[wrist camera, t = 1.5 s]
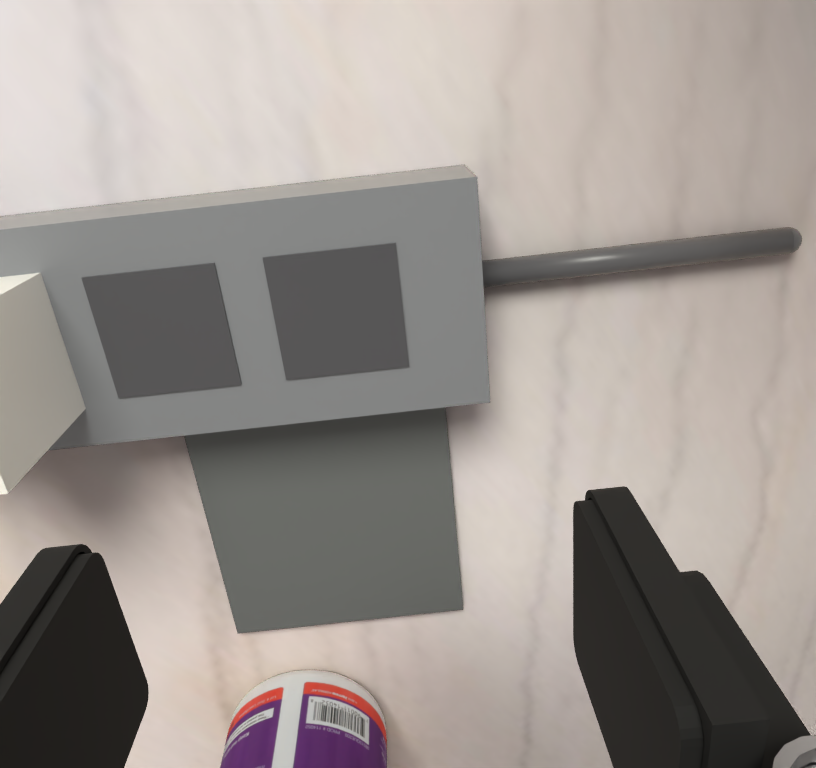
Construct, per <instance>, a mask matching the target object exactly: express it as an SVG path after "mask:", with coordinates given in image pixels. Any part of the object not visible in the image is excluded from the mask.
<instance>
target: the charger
mask: <svg viewBox="0 0 816 768" xmlns="http://www.w3.org/2000/svg"><path fill="white" fill-rule="evenodd" d="M85 409H86V408H85V405H84V402H83V399H82V396H81V393H80V390H79V387H78V384H77V381H76V378H75V375H74V372H73V369H72V366H71V363H70V360H69V357H68V354H67V351H66V348H65V345H64V342H63V339H62V336H61V333H60V330H59V327H58V324H57V321H56V318H55V315H54V312H53V309H52V306H51V303H50V300H49V297H48V294H47V291H46V288H45V285H44V282H43V279H42V276H41V273H33V274H24V275H15V276H6V277H0V495H1V494H9V492H10V491H11V490H12V489H13V488H14V487H15V486H16V485H17V484H18V483H19V481H20V480H21V479H22V478H23V477H24V476H25V475H26V474H27V473H28V472H29V470H30V469H31V468H32V467H33V466H34V465H35V464H36V463H37V462H38V461H39V459H40V458H41V457H42V456H43V455H44V454H45V453H46V452H47V451H48V450H49V448H50V447H51V446H52V445H53V444H54V443H55V442H56V441H57V440H58V439H59V437H60V436H61V435H62V434H63V433H64V432H65V431H66V430H67V429H68V428H69V426H70V425H71V424H72V423H73V422H74V421H75V420H76V419H77V418H78V417H79V415H80V414H81V413H82V412H83V411H84V410H85Z"/></svg>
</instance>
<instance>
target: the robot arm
mask: <svg viewBox="0 0 816 768" xmlns="http://www.w3.org/2000/svg"><path fill="white" fill-rule="evenodd" d="M573 636H574V647H575V653H576V657H577V661H578V664H579V667H580V670H581V673H582V676H583V679H584V682H585V685H586V688H587V691H588V694H589V697H590V700H591V703H592V706H593V708H594V711H595V714H596V717H597V720H598V723H599V726H600V729H601V732H602V735H603V738H604V741H605V744H606V747H607V749H608V752H609V755H610V758H611V761H612V764H613V767H614V768H816V735H810V733H809V732H808V730H807V729H806V727H805V726H804V724H803V723H802V721H801V720H800V718H799V717H798V715H797V714H796V712H795V711H794V709H793V708H792V706H791V704H790V703H789V701H788V700H787V698H786V697H785V695H784V694H783V692H782V691H781V689H780V688H779V686H778V685H777V683H776V682H775V680H774V679H773V677H772V676H771V674H770V673H769V671H768V670H767V668H766V667H765V665H764V664H763V662H762V661H761V659H760V658H759V656H758V655H757V653H756V652H755V650H754V649H753V647H752V646H751V644H750V642H749V641H748V639H747V638H746V636H745V635H744V633H743V632H742V630H741V629H740V627H739V626H738V624H737V623H736V621H735V620H734V618H733V617H732V615H731V614H730V612H729V611H728V609H727V608H726V606H725V605H724V603H723V602H722V600H721V599H720V597H719V596H718V594H717V593H716V591H715V590H714V588H713V587H712V585H711V583H710V582H709V581H708V580H707V578H706V577H705V576H704V575H703V574H702V573H700V572H698V571H688V572H679V570H678V569H677V567H676V565H675V564H674V562H673V560H672V559H671V557H670V556H669V554H668V552H667V551H666V549H665V547H664V546H663V544H662V543H661V541H660V539H659V538H658V536H657V534H656V533H655V531H654V529H653V528H652V526H651V525H650V523H649V521H648V520H647V518H646V516H645V515H644V513H643V512H642V510H641V508H640V507H639V505H638V503H637V502H636V500H635V498H634V497H633V495H632V494H631V492H630V491H629V489H628V488H627V487H614V488H605V489H596V490H588V491H587V493H586V496H585V501H576V502H575V503H574V510H573ZM147 702H148V684H147V680H146V677H145V674H144V671H143V668H142V666H141V663H140V660H139V657H138V654H137V652H136V649H135V646H134V643H133V640H132V638H131V635H130V632H129V629H128V626H127V624H126V621H125V618H124V615H123V612H122V610H121V607H120V604H119V601H118V598H117V596H116V593H115V590H114V587H113V584H112V581H111V579H110V576H109V573H108V570H107V567H106V565H105V562H104V559H103V557H102V556H101V555H100V554H99V553H92V552H91V550H90V549H89V548H88V547H87V546H86V545H83V544H79V545H69V546H60V547H51V548H45V549H42V550H41V551H40V552H39V553H38V554H37V555H36V556H35V558H34V559H33V560H32V562H31V563H30V564H29V566H28V567H27V569H26V570H25V571H24V573H23V574H22V575H21V577H20V578H19V580H18V581H17V582H16V584H15V585H14V586H13V588H12V589H11V590H10V592H9V593H8V595H7V596H6V597H5V599H4V600H3V601H2V603H1V604H0V768H124V766H125V763H126V761H127V758H128V755H129V753H130V750H131V747H132V745H133V742H134V739H135V737H136V734H137V731H138V729H139V726H140V723H141V721H142V718H143V716H144V713H145V710H146V707H147Z"/></svg>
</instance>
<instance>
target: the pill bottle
mask: <svg viewBox="0 0 816 768" xmlns="http://www.w3.org/2000/svg"><path fill="white" fill-rule="evenodd" d="M220 768H387V739H386V725H385V720H384V716H383V714H382V711H381V709H380V707H379V705H378V704H377V702H376V701H375V699H374V698H373V697H372V695H371V694H370V693H369V692H368V691H367V690H366V689H365V688H363V687H362V686H361V685H359V684H358V683H356V682H355V681H353V680H351V679H349V678H347V677H345V676H342V675H340V674H337V673H333V672H329V671H320V670H299V671H292V672H287V673H283V674H280V675H277V676H274V677H272V678H269V679H267V680H265V681H263V682H262V683H260V684H258V685H257V686H255V687H254V688H253V689H252V690H250V691H249V692H248V693H247V694H246V695H245V697H244V698H243V699H242V700H241V701H240V703H239V704H238V706H237V708H236V710H235V712H234V714H233V716H232V720H231V723H230V727H229V731H228V735H227V739H226V744H225V749H224V753H223V758H222V762H221V767H220Z"/></svg>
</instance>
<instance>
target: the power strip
mask: <svg viewBox="0 0 816 768" xmlns="http://www.w3.org/2000/svg"><path fill="white" fill-rule="evenodd" d="M801 243H802V236H801V234H800V232H799V231H798V230H796V229H794V228H791V227H786V228H776V229H767V230H758V231H749V232H740V233H731V234H722V235H713V236H704V237H695V238H686V239H677V240H667V241H658V242H649V243H640V244H631V245H622V246H613V247H604V248H595V249H586V250H577V251H568V252H558V253H549V254H540V255H531V256H522V257H513V258H504V259H495V260H486V261H482V253H481V236H480V218H479V201H478V184H477V176H476V175H475V174H474V173H473V172H472V171H471V170H470V169H468V168H467V167H466V166H465V165H458V166H449V167H440V168H431V169H422V170H413V171H404V172H395V173H386V174H377V175H368V176H359V177H350V178H341V179H332V180H323V181H314V182H305V183H296V184H287V185H278V186H269V187H260V188H251V189H242V190H233V191H224V192H215V193H206V194H197V195H188V196H179V197H170V198H161V199H152V200H143V201H134V202H125V203H116V204H107V205H98V206H89V207H80V208H71V209H62V210H53V211H44V212H35V213H26V214H17V215H8V216H0V277H6V276H15V275H24V274H33V273H41V276H42V279H43V282H44V285H45V288H46V291H47V294H48V297H49V300H50V303H51V306H52V309H53V312H54V315H55V318H56V321H57V324H58V327H59V330H60V333H61V336H62V339H63V342H64V345H65V348H66V351H67V354H68V357H69V360H70V363H71V366H72V369H73V372H74V375H75V378H76V381H77V384H78V387H79V390H80V393H81V396H82V399H83V402H84V405H85V408H86V409H85V410H84V411H83V412H82V413H81V414H80V415H79V417H78V418H77V419H76V420H75V421H74V422H73V423H72V424H71V425H70V426H69V428H68V429H67V430H66V431H65V432H64V433H63V434H62V435H61V436H60V437H59V439H58V440H57V441H56V442H55V443H54V444H53V445H52V446H51V447H50V448H49V450H56V449H65V448H75V447H84V446H93V445H102V444H112V443H121V442H130V441H139V440H148V439H158V438H167V437H176V436H185V435H194V434H204V433H213V432H222V431H231V430H240V429H250V428H259V427H268V426H277V425H287V424H296V423H305V422H314V421H323V420H333V419H342V418H351V417H360V416H369V415H379V414H388V413H397V412H406V411H416V410H425V409H434V408H443V407H452V406H462V405H471V404H480V403H489V402H490V391H489V374H488V356H487V339H486V322H485V305H484V287H492V286H501V285H510V284H519V283H528V282H537V281H546V280H555V279H564V278H574V277H583V276H592V275H601V274H610V273H619V272H628V271H637V270H646V269H656V268H665V267H674V266H683V265H692V264H701V263H710V262H719V261H728V260H737V259H747V258H756V257H765V256H774V255H783V254H790V253H793V252H795V251H796V250H797V249H798V248H799V247H800V245H801Z"/></svg>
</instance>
